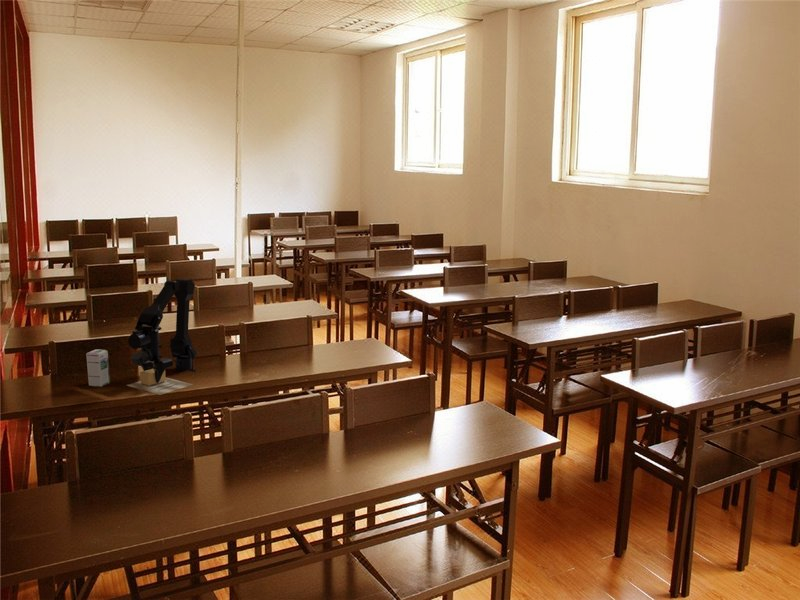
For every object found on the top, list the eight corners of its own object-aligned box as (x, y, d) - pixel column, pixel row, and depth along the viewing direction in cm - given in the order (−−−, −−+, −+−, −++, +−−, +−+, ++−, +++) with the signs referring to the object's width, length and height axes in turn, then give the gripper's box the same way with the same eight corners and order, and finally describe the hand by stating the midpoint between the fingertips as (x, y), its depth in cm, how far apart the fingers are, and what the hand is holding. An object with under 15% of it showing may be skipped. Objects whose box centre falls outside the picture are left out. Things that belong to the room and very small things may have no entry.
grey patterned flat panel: (159, 378, 294) (159, 375, 293) (193, 387, 283) (193, 384, 283) (126, 388, 281) (126, 385, 280) (160, 397, 270) (159, 394, 270)
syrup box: (101, 389, 278) (99, 353, 276) (88, 388, 280) (85, 352, 277) (110, 385, 284) (108, 349, 281) (97, 384, 285) (94, 348, 282)
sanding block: (157, 379, 288) (156, 367, 287) (165, 381, 286) (165, 369, 285) (140, 384, 282) (140, 372, 281) (148, 386, 279) (148, 374, 278)
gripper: (118, 343, 279) (120, 381, 282) (149, 350, 269) (151, 390, 272) (142, 337, 288) (144, 375, 291) (173, 345, 278) (175, 383, 281)
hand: (153, 381), depth 284 cm, fingers closed on sanding block, 5 cm apart
